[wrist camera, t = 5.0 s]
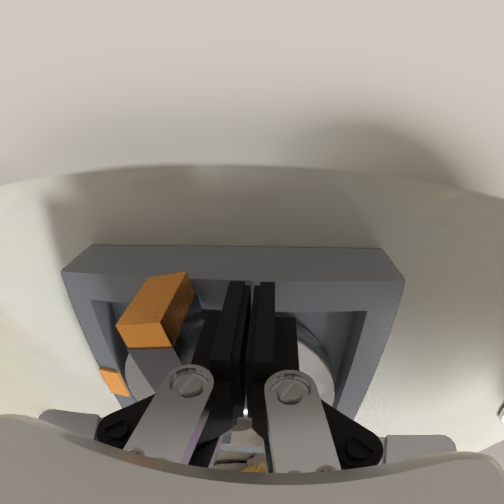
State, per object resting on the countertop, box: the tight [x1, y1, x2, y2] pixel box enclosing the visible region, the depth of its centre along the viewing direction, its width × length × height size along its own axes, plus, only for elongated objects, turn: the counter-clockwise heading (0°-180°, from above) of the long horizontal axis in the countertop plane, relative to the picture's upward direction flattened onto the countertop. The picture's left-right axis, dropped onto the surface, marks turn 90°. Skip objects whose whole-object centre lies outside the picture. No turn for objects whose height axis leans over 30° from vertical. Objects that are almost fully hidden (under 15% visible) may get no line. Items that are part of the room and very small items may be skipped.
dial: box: [115, 271, 335, 447], centre depth 13 cm, size 15×12×5 cm
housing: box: [60, 245, 405, 453], centre depth 16 cm, size 16×16×3 cm
